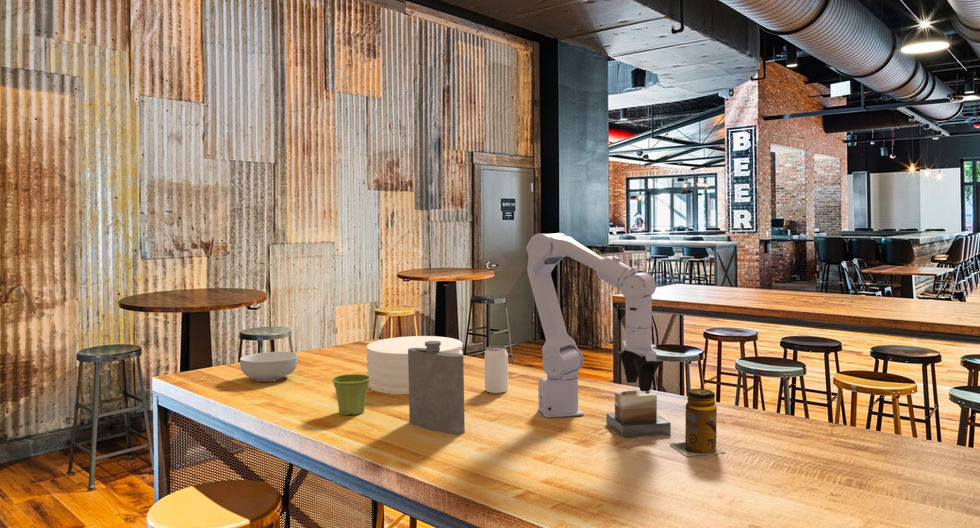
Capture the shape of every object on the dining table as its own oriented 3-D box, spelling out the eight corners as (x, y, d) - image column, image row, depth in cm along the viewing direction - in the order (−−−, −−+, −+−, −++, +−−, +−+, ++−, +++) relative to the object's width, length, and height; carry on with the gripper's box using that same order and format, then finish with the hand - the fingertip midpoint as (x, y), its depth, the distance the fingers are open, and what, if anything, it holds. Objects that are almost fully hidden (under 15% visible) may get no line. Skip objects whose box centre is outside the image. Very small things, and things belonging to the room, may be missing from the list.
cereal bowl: (310, 376, 203) (309, 353, 202) (265, 388, 189) (265, 364, 188) (273, 370, 212) (272, 348, 212) (228, 381, 198) (227, 358, 198)
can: (505, 394, 179) (505, 350, 178) (482, 393, 180) (482, 350, 179) (510, 388, 185) (509, 346, 184) (487, 387, 186) (486, 345, 186)
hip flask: (467, 431, 147) (466, 343, 146) (455, 436, 144) (454, 346, 143) (416, 419, 157) (414, 336, 156) (404, 423, 154) (402, 339, 152)
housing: (656, 419, 146) (656, 393, 146) (622, 422, 144) (622, 395, 144) (648, 413, 150) (648, 387, 150) (614, 416, 149) (614, 390, 149)
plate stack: (481, 384, 190) (480, 345, 190) (393, 400, 175) (392, 358, 174) (433, 367, 213) (433, 332, 213) (352, 380, 198) (351, 342, 197)
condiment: (725, 453, 132) (725, 394, 131) (686, 457, 130) (687, 397, 129) (705, 441, 139) (705, 385, 138) (668, 445, 137) (668, 388, 136)
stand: (623, 437, 142) (622, 426, 142) (606, 423, 152) (606, 413, 151) (670, 433, 144) (670, 422, 144) (651, 420, 154) (651, 410, 153)
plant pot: (353, 405, 170) (352, 372, 170) (379, 410, 165) (378, 376, 164) (324, 413, 163) (323, 379, 162) (351, 420, 157) (350, 384, 157)
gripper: (669, 331, 141) (669, 393, 142) (642, 321, 155) (642, 377, 156) (638, 332, 140) (638, 395, 141) (613, 322, 154) (613, 379, 155)
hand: (638, 386), depth 148 cm, fingers open, 7 cm apart
